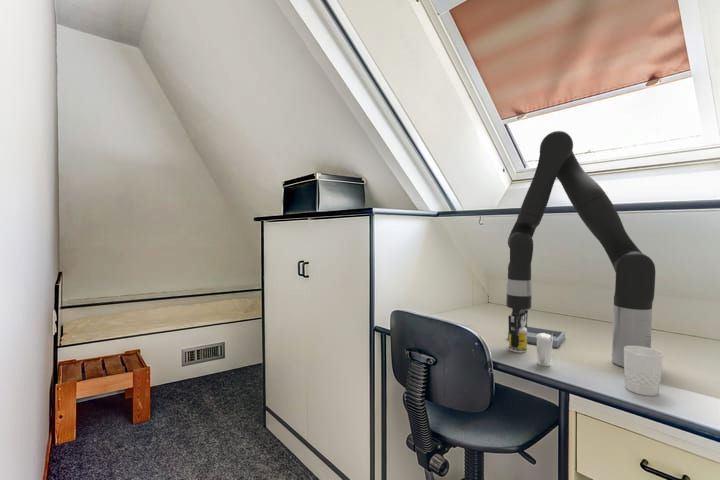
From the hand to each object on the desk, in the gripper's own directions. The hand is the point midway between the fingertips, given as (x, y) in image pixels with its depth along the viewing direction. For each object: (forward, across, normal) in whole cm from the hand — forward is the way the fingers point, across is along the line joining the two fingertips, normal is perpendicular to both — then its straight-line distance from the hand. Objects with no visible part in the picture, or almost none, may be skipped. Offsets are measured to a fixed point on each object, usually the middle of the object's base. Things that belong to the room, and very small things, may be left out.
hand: (517, 343), depth 126 cm
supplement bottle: (+2, 0, 0) cm, 2 cm away
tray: (+2, +17, -2) cm, 17 cm away
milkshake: (+2, -9, -10) cm, 14 cm away
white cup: (+2, -13, -33) cm, 36 cm away
